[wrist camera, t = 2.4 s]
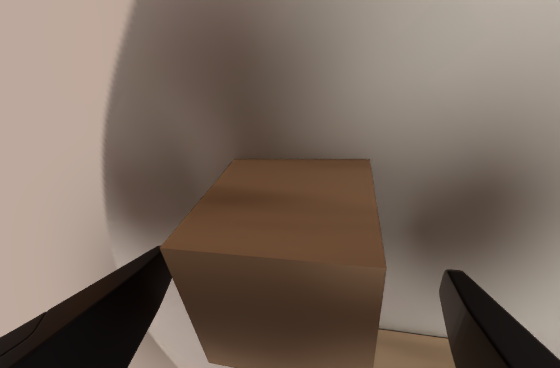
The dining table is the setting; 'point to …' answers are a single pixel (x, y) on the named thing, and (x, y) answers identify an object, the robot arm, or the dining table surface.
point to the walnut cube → (283, 265)
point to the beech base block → (411, 351)
